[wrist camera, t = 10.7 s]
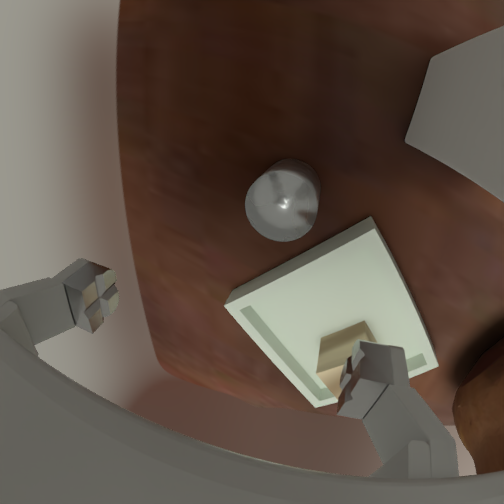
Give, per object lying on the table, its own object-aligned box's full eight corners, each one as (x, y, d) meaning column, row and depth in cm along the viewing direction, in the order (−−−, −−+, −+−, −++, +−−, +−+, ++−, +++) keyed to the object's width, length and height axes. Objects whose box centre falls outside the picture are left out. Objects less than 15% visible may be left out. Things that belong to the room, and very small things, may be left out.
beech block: (320, 337, 27) (315, 373, 23) (364, 320, 25) (366, 356, 21) (341, 366, 28) (338, 401, 24) (382, 351, 26) (385, 387, 22)
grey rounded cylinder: (252, 179, 23) (231, 197, 19) (298, 147, 21) (289, 157, 17) (284, 224, 24) (272, 252, 20) (332, 196, 22) (331, 220, 18)
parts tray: (232, 289, 28) (223, 305, 26) (371, 215, 22) (374, 228, 19) (318, 390, 32) (315, 407, 30) (434, 348, 25) (438, 366, 23)
